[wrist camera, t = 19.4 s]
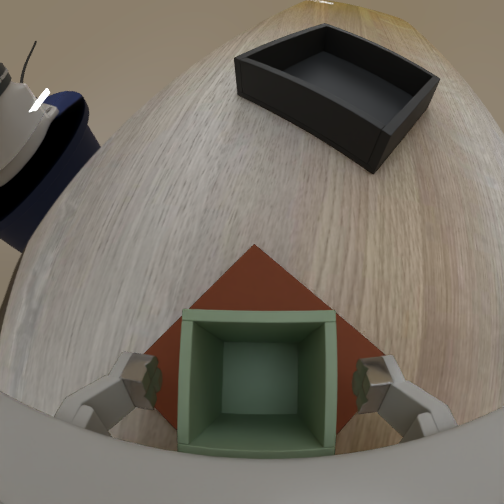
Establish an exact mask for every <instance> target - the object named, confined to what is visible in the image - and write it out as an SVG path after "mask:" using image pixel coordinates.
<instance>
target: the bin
mask: <svg viewBox="0 0 504 504" xmlns="http://www.w3.org/2000/svg"><path fill="white" fill-rule="evenodd" d="M234 64H235V74H236V84H237V94H238V95H240V96H242V97H244V98H246V99H248V100H250V101H252V102H254V103H256V104H258V105H260V106H262V107H264V108H266V109H268V110H270V111H272V112H274V113H275V114H277V115H279V116H281V117H283V118H285V119H287V120H288V121H290V122H292V123H294V124H296V125H297V126H299V127H301V128H303V129H304V130H306V131H308V132H309V133H311V134H313V135H314V136H316V137H318V138H319V139H321V140H323V141H324V142H326V143H327V144H329V145H331V146H332V147H334V148H335V149H337V150H338V151H340V152H342V153H343V154H345V155H346V156H348V157H349V158H351V159H352V160H354V161H355V162H357V163H358V164H359V165H361V166H362V167H364V168H365V169H367V170H368V171H369V172H371V173H372V174H374V173H375V172H376V171H377V170H378V168H379V167H380V166H381V165H382V164H383V162H384V161H385V160H386V159H387V157H388V156H389V155H390V154H391V153H392V151H393V150H394V149H395V148H396V146H397V145H398V144H399V143H400V142H401V140H402V139H403V138H404V137H405V135H406V134H407V133H408V132H409V130H410V129H411V128H412V127H413V125H414V124H415V123H416V122H417V120H418V119H419V118H420V116H421V115H422V114H423V113H424V111H425V110H426V109H427V107H428V105H429V103H430V101H431V99H432V97H433V95H434V92H435V90H436V88H437V86H438V83H439V81H440V78H438V77H437V76H435V75H434V74H432V73H430V72H429V71H427V70H425V69H424V68H422V67H420V66H419V65H417V64H415V63H413V62H412V61H410V60H408V59H406V58H404V57H402V56H400V55H398V54H397V53H395V52H393V51H391V50H389V49H387V48H384V47H382V46H380V45H378V44H376V43H374V42H372V41H369V40H367V39H365V38H362V37H360V36H358V35H355V34H353V33H350V32H348V31H345V30H342V29H340V28H337V27H334V26H331V25H328V24H325V23H324V24H320V25H317V26H314V27H311V28H308V29H305V30H302V31H299V32H296V33H293V34H290V35H287V36H285V37H282V38H279V39H277V40H274V41H272V42H269V43H267V44H264V45H262V46H259V47H257V48H255V49H252V50H250V51H248V52H246V53H243V54H241V55H239V56H237V57H235V58H234Z"/></svg>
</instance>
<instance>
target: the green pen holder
mask: <svg viewBox="0 0 504 504" xmlns="http://www.w3.org/2000/svg"><path fill="white" fill-rule="evenodd" d="M182 320H183V321H182V324H181V338H180V356H179V378H178V417H177V442H178V444H177V449H178V452H183V453H190V454H197V455H206V456H216V457H229V458H249V459H288V458H308V457H320V456H331V455H335V447H334V446H335V443H336V422H337V330H336V311H335V310H317V311H234V310H201V309H183V311H182Z"/></svg>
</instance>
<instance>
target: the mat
mask: <svg viewBox="0 0 504 504" xmlns="http://www.w3.org/2000/svg"><path fill="white" fill-rule="evenodd" d="M189 309H201V310H234V311H317V310H332V309H331V308H330V307H329V306H327V305H326V304H325V303H324V302H323V301H321V300H320V299H319V298H318V297H317V296H316V295H314V294H313V293H312V292H311V291H310V290H308V289H307V288H306V287H305V286H304V285H303V284H301V283H300V282H299V281H298V280H297V279H295V278H294V277H293V276H292V275H291V274H289V273H288V272H287V271H286V270H285V269H284V268H282V267H281V266H280V265H279V264H278V263H276V262H275V261H274V260H273V259H272V258H270V257H269V256H268V255H267V254H266V253H264V252H263V251H262V250H261V249H260V248H258V247H257V246H256V245H255V244H254V245H253V246H252V247H251V248H250V249H249V250H248V251H247V252H246V253H245V254H244V255H243V256H242V257H241V258H240V259H239V260H238V261H237V262H236V263H234V264H233V265H232V266H231V267H230V268H229V269H228V270H227V271H226V272H225V273H224V274H223V275H222V276H221V277H220V278H219V279H218V280H217V281H216V282H215V283H214V284H213V285H212V286H211V287H210V288H209V289H208V290H207V291H206V292H205V293H204V294H203V295H202V296H201V297H200V298H199V299H198V300H197V301H196V302H195V303H194V304H193V305H192V306H191V307H190V308H189ZM182 321H183V320H182V316H181V317H180V318H179V319H178V320H177V321H176V322H175V323H174V324H173V325H172V326H171V327H170V328H169V329H168V330H167V331H166V332H165V333H164V334H163V335H162V336H161V337H160V338H159V339H158V340H157V341H156V342H155V343H154V344H153V345H152V346H151V347H150V348H149V349H148V350H147V351H146V352H145V353H144V354H147V355H153V356H156V357H157V358H158V361H159V364H158V366H157V367H158V368H160V369H161V371H162V375H163V383H162V388H161V390H160V391H159V392H158V393H156V396H157V398H158V399H157V401H156V404H155V408H156V409H157V410H158V411H159V412H160V414H161V415H162V416H163V417H164V418H165V419H166V420H167V421H168V422H169V423H170V424H171V425H172V426H173V427H174V428H175V429H176V430H177V417H178V378H179V356H180V338H181V324H182ZM336 330H337V422H336V434H337V433H338V432H339V431H340V430H341V429H342V428H343V427H344V426H345V425H346V423H347V422H348V421H349V420H350V419H351V418H352V417H353V415H354V414H355V413H356V412H357V411H358V409H357V406H356V399H357V397H356V396H355V395H354V394H353V391H352V385H351V384H352V376H353V373H354V372H355V371H356V370H357V368H356V363H357V360H358V359H360V358H370V357H378V356H380V357H381V356H386V355H385V354H384V353H383V352H381V351H380V350H379V349H378V348H377V347H376V346H374V345H373V344H372V343H371V342H370V341H369V340H367V339H366V338H365V337H364V336H363V335H361V334H360V333H359V332H358V331H357V330H356V329H354V328H353V327H352V326H351V325H350V324H349V323H347V322H346V321H345V320H344V319H343V318H342V317H340V316H339V315H338V314H337V313H336Z"/></svg>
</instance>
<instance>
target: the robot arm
mask: <svg viewBox="0 0 504 504" xmlns="http://www.w3.org/2000/svg"><path fill="white" fill-rule="evenodd" d="M35 45H36V41H35V43H34V45H33V48H32V50H31V51H30V54H29V56H28V58H27V60H26V62H25V64H24V67H23V70H22V74H21V80H20V83H14V82H12V81H11V77H10V75H9V73H8V70H7V68H6V67H4V65H3V63H0V187H2V186H3V185H5V184H6V183H7V182H9V181H10V180H11V179H12V178H13V177H14V176H15V175H17V174H18V173H19V171H20V170H21V169H22V168H23V167H24V166H25V165H26V164H27V163H28V161H29V160H30V159H31V158H32V156H33V155H34V154H35V152H36V151H37V150H38V148H39V147H40V145H41V143H42V142H43V140H44V138H45V136H46V134H47V131H48V129H49V127H50V125H51V123H52V122H53V120H54V119H55V118H56V116H57V115H58V113H59V110H58V109H57V108H56V107H55V106H51V105H48V104H45V103H42V102H43V101H44V100H45V98H46V97H47V96H48V94H49V93H50V91H49V90H48V89H46V90H45V91H44V92H43V93H42V95H41V96H40V97H39V98H38V99H37V97H35V96H34V94H33V93H32V91H31V90H30V88H29V87H28V85H27V84H26V83H25V84H23V78H24V72H25V68H26V65H27V63H28V60H29V58H30V56H31V53H32V51H33V49H34V47H35ZM158 364H159V361H158V358H157V357H156V356H153V355H147V354H140V353H132V352H127V351H123V352H122V353H121V354H120V356H119V358H118V359H117V361H116V363H115V364H114V366H113V368H112V370H111V371H110V373H109V375H108V376H103V377H101V378H100V379H98V380H96V381H94V382H93V383H91V384H89V385H87V386H85V387H84V388H82V389H80V390H78V391H77V392H75V393H73V394H71V395H69V396H68V397H66V398H65V399H64V401H63V402H62V404H61V406H60V407H59V409H58V410H57V412H56V414H55V416H54V417H52V416H50V415H48V414H45V413H43V412H41V411H39V410H37V409H34V408H32V407H30V406H28V405H26V404H24V403H22V402H20V401H18V400H16V399H14V398H12V397H10V396H9V395H7V394H5V393H3V392H1V391H0V504H504V406H503V407H501V408H499V409H497V410H495V411H493V412H491V413H488V414H486V415H484V416H482V417H479V418H477V419H475V420H472V421H470V422H467V423H465V424H462V425H459V426H458V425H457V423H456V421H455V419H454V417H453V415H452V413H451V411H450V409H449V407H448V405H446V404H444V403H443V402H441V401H440V400H438V399H437V398H435V397H433V396H432V395H430V394H429V393H427V392H426V391H424V390H423V389H421V388H419V387H418V386H416V385H415V384H413V383H412V382H410V381H406V380H405V378H404V376H403V374H402V372H401V370H400V368H399V366H398V364H397V362H396V360H395V358H394V356H393V355H386V356H381V357H380V356H378V357H370V358H360V359H358V360H357V363H356V368H357V370H356V371H355V372H354V373H353V376H352V384H351V385H352V391H353V394H354V395H355V396H356V397H357V399H356V406H357V409H358V413H359V414H364V413H373V412H378V414H379V415H380V416H381V417H383V418H384V419H385V420H386V421H387V422H388V423H389V424H390V425H391V426H392V427H393V428H394V429H395V430H396V431H397V432H398V433H399V434H400V435H401V436H403V438H402V440H401V441H400V442H399V444H396V445H391V446H387V447H382V448H377V449H372V450H366V451H360V452H354V453H347V454H339V455H331V456H320V457H308V458H288V459H249V458H229V457H216V456H206V455H197V454H190V453H183V452H176V451H170V450H165V449H159V448H154V447H149V446H145V445H140V444H136V443H132V442H128V441H124V440H120V439H116V438H113V437H112V436H111V435H110V434H109V432H108V430H109V429H111V428H112V427H113V426H114V425H116V424H117V423H118V422H119V421H120V420H122V419H123V418H124V417H125V416H126V415H128V414H129V413H130V412H131V411H132V410H133V409H135V407H137V408H143V409H150V410H154V407H155V404H156V401H157V399H158V398H157V396H156V393H158V392H159V391H160V390H161V388H162V383H163V375H162V371H161V369H160V368H158V367H157V366H158Z"/></svg>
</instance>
